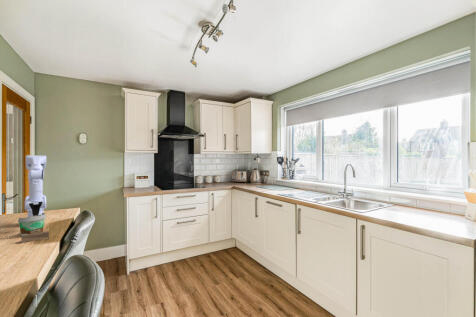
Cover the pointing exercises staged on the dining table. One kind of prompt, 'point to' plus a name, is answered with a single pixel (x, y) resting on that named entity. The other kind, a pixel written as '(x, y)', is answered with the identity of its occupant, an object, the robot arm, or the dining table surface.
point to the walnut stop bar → (34, 236)
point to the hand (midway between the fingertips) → (35, 215)
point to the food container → (32, 224)
